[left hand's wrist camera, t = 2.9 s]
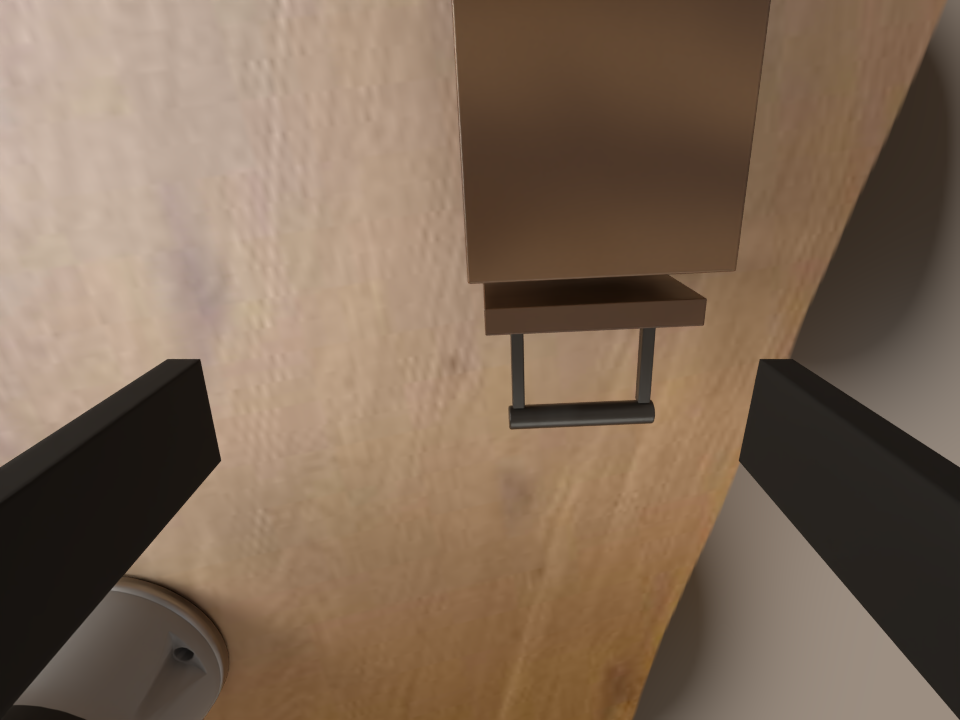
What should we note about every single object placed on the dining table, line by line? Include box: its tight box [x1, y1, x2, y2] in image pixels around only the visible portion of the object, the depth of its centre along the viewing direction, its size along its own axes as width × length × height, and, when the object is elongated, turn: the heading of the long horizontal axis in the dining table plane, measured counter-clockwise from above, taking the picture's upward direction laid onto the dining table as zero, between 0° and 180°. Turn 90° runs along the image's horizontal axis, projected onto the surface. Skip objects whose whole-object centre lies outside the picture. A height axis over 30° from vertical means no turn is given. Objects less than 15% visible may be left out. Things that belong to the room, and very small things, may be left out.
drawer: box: [483, 274, 707, 429], centre depth 24 cm, size 26×9×8 cm, turn 3°
